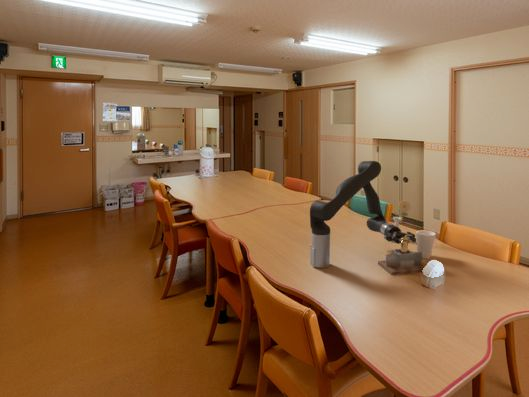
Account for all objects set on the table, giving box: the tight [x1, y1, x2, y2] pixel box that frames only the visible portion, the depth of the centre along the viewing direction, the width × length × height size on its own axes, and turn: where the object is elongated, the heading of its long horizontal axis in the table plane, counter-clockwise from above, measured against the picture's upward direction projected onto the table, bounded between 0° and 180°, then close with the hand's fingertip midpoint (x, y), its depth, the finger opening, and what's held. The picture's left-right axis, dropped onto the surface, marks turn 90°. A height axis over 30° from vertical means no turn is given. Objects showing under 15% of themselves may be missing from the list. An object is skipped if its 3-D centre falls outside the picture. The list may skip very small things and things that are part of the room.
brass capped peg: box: [400, 237, 410, 253], centre depth 180 cm, size 4×4×14 cm
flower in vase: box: [392, 199, 412, 242], centre depth 221 cm, size 13×11×25 cm
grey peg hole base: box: [377, 260, 426, 276], centre depth 182 cm, size 20×14×2 cm
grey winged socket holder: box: [384, 248, 423, 268], centre depth 181 cm, size 19×7×7 cm, turn 99°
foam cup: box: [415, 229, 437, 259], centre depth 195 cm, size 10×9×13 cm
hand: (407, 241), depth 177 cm, fingers open, 8 cm apart
